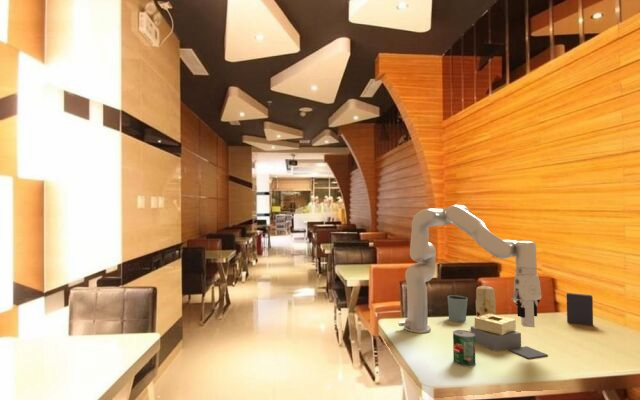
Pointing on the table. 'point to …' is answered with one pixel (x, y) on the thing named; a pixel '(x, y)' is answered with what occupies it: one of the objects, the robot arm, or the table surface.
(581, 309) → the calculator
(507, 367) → the table surface
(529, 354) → the pad
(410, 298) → the robot arm
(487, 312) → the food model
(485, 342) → the grey square block
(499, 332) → the wooden block with hole
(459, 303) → the blue-grey cup
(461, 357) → the canned tomato
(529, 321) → the light grey tall block
